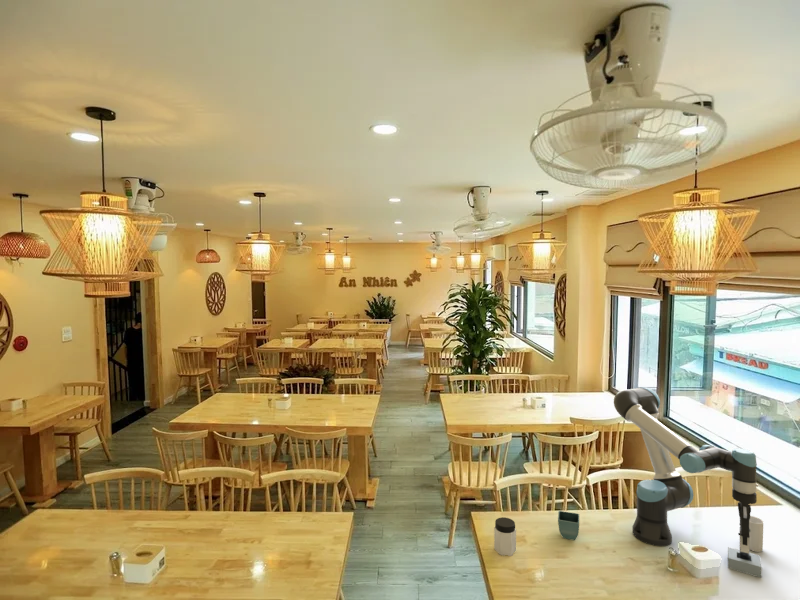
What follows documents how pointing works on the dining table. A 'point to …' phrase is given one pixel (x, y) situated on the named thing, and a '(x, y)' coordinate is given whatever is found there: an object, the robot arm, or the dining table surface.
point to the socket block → (744, 562)
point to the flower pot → (568, 524)
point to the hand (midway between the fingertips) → (744, 549)
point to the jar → (505, 536)
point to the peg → (744, 554)
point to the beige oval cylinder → (755, 534)
